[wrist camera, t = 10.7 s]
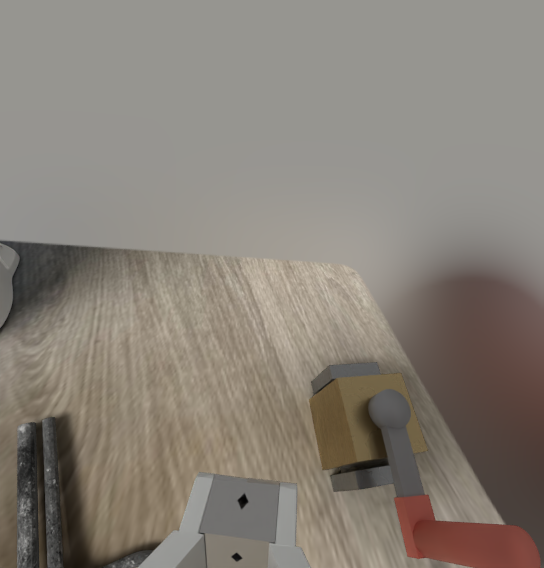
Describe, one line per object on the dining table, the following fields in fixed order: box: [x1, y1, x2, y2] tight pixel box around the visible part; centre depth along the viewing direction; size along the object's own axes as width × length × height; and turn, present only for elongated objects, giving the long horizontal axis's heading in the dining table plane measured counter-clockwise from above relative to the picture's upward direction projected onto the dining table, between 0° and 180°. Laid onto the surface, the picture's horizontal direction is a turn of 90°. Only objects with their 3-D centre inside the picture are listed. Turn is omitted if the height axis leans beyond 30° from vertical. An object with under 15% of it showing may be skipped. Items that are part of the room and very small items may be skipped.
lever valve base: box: [309, 362, 428, 492], centre depth 33 cm, size 11×7×8 cm, turn 9°
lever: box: [368, 389, 540, 568], centre depth 24 cm, size 12×3×9 cm, turn 5°
